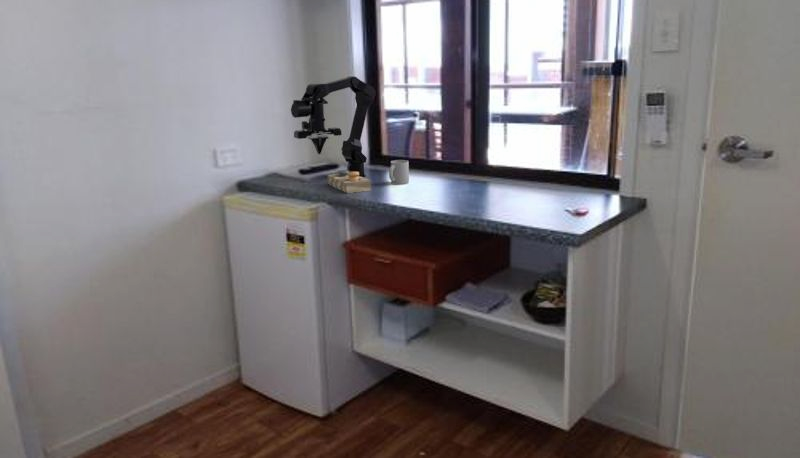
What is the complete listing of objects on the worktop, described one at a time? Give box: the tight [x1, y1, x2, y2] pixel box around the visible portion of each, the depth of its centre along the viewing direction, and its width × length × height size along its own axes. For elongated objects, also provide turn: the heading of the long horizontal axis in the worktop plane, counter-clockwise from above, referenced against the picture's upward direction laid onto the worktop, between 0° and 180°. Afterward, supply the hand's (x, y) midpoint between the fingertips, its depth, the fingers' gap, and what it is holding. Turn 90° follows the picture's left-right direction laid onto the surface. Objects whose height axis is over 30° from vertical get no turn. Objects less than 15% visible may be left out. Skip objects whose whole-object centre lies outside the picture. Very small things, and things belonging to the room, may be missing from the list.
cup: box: [388, 159, 410, 186], centre depth 252 cm, size 7×10×9 cm
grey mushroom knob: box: [337, 169, 349, 177], centre depth 252 cm, size 5×5×6 cm
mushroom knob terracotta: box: [347, 172, 359, 181], centre depth 243 cm, size 5×5×6 cm
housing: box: [327, 173, 372, 194], centre depth 248 cm, size 20×10×4 cm, turn 27°
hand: (319, 154), depth 256 cm, fingers closed
